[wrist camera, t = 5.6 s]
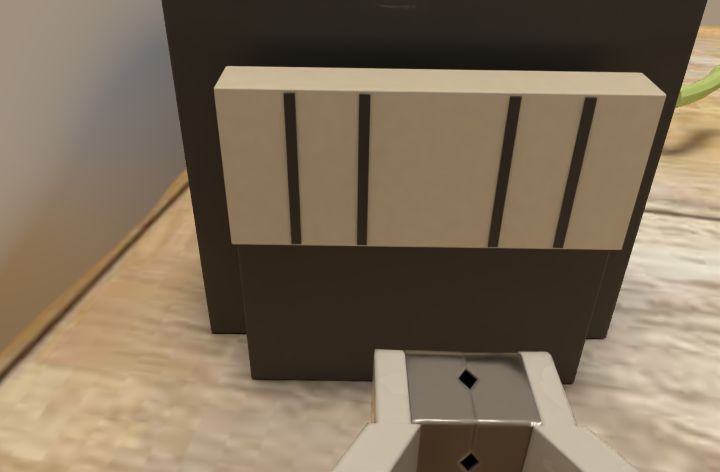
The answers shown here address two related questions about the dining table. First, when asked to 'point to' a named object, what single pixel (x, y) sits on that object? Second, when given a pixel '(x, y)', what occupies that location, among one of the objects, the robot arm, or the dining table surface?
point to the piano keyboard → (433, 156)
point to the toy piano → (410, 264)
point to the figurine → (699, 88)
